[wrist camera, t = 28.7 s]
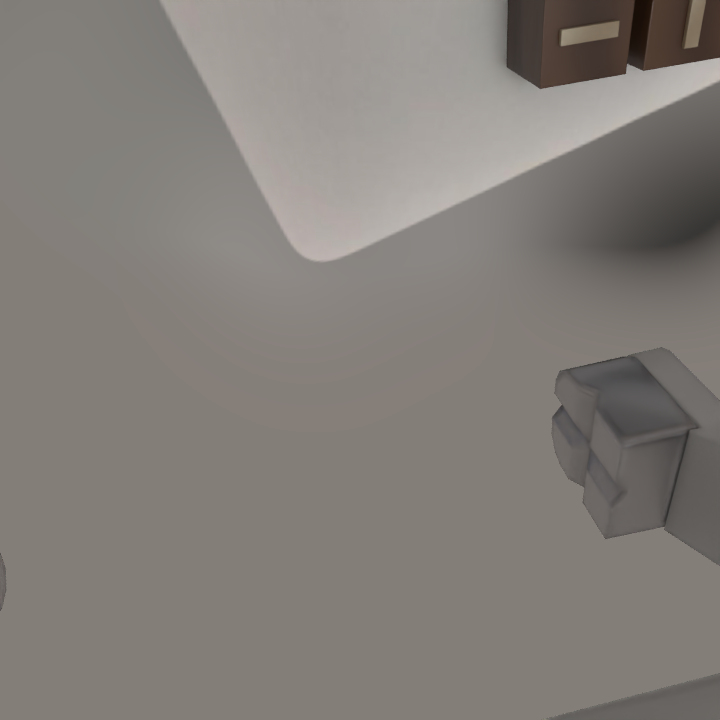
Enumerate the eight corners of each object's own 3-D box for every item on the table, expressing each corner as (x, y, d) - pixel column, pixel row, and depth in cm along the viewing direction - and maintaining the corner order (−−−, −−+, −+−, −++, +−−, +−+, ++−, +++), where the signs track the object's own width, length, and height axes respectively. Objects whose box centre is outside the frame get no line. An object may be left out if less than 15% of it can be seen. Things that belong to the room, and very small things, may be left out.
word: (506, 67, 41) (542, 90, 37) (508, -27, 38) (547, -13, 34) (676, 38, 42) (729, 58, 38) (691, -56, 39) (751, -46, 35)
